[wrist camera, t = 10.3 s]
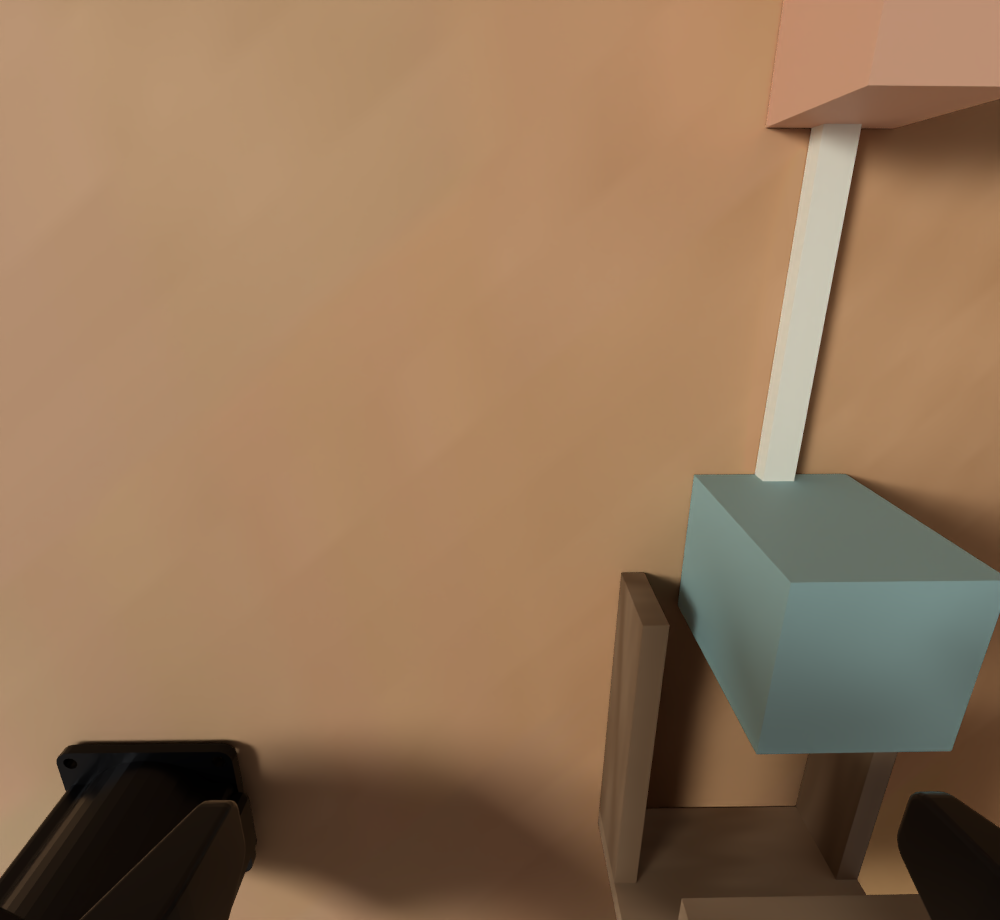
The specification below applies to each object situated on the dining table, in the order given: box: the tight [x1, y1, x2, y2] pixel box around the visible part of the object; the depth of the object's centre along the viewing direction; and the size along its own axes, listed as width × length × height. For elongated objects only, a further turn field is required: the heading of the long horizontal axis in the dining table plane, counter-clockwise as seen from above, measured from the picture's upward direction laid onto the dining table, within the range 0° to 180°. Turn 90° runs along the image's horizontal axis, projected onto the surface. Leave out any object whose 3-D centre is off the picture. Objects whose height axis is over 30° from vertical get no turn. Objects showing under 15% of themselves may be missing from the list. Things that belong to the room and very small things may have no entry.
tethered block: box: [678, 0, 1000, 754], centre depth 15 cm, size 5×18×6 cm, turn 0°
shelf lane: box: [598, 573, 931, 920], centre depth 18 cm, size 9×12×9 cm
